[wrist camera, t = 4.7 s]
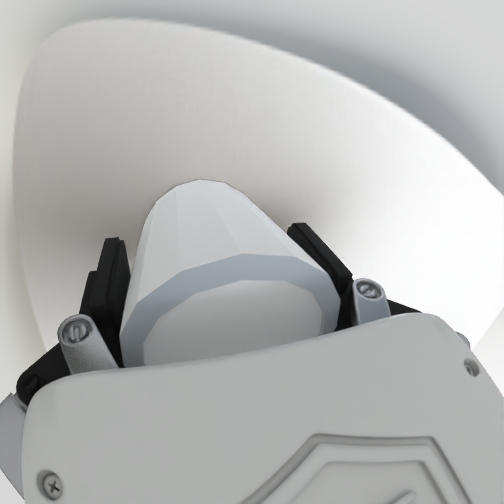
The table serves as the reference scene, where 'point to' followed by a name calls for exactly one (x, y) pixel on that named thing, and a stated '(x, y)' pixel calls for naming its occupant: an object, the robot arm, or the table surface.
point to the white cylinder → (219, 281)
